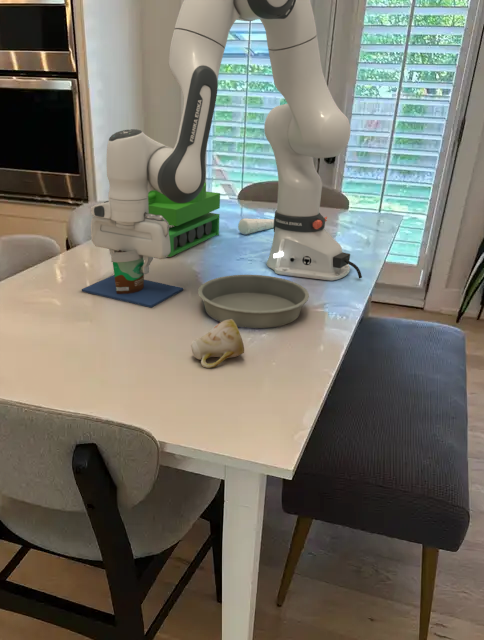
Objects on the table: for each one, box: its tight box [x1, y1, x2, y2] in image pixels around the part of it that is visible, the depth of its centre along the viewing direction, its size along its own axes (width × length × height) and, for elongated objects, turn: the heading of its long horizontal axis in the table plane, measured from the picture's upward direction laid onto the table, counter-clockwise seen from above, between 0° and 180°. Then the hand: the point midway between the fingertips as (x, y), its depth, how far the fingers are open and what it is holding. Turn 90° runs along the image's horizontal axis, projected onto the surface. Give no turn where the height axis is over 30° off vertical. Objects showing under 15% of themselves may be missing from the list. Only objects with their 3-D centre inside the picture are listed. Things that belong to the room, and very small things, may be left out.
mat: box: [81, 274, 184, 309], centre depth 145 cm, size 20×14×1 cm
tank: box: [148, 182, 221, 258], centre depth 178 cm, size 24×35×16 cm
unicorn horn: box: [237, 217, 274, 235], centre depth 197 cm, size 5×24×5 cm, turn 130°
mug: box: [190, 319, 245, 369], centre depth 114 cm, size 8×10×10 cm
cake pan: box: [197, 274, 310, 329], centre depth 135 cm, size 25×25×4 cm
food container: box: [110, 250, 145, 294], centre depth 142 cm, size 12×6×10 cm, turn 168°
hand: (131, 270), depth 143 cm, fingers closed on food container, 6 cm apart
